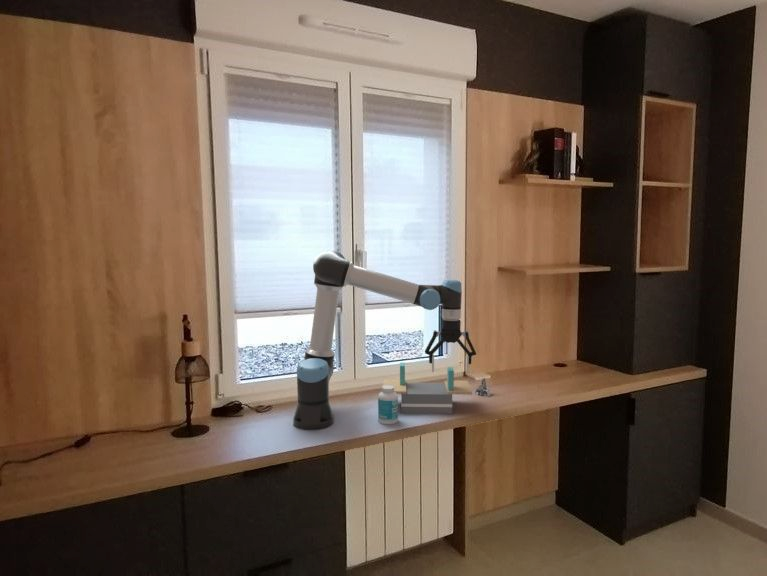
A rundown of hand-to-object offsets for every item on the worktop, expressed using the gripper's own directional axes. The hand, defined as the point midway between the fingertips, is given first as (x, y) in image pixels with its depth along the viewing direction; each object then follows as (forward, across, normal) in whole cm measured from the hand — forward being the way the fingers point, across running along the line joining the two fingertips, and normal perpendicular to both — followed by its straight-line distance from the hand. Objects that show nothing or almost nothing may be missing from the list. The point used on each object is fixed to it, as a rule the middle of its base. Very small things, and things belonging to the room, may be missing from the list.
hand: (449, 371), depth 203 cm
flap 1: (+8, -22, +4) cm, 24 cm away
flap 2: (+8, +4, +4) cm, 9 cm away
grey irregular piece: (+16, +15, +20) cm, 30 cm away
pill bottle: (+17, -24, -14) cm, 32 cm away
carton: (+16, -9, +4) cm, 19 cm away
